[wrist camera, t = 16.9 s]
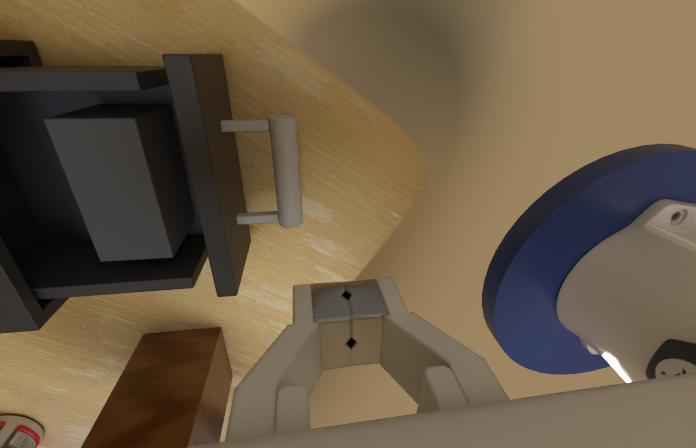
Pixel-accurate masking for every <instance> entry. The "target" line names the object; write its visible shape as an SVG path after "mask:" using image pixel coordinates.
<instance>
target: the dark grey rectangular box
mask: <svg viewBox="0 0 696 448" xmlns="http://www.w3.org/2000/svg"><path fill="white" fill-rule="evenodd" d="M43 120H44V123H45V125H46V128H47V130H48V133H49V135H50V138H51V140H52V143H53V145H54V148H55V150H56V153H57V155H58V158H59V160H60V163H61V165H62V168H63V170H64V172H65V175H66V177H67V180H68V182H69V185H70V187H71V190H72V192H73V195H74V197H75V200H76V202H77V205H78V207H79V210H80V212H81V215H82V217H83V220H84V222H85V224H86V227H87V229H88V232H89V234H90V237H91V239H92V242H93V244H94V247H95V249H96V252H97V254H98V257H99V259H100V261H101V262H103V261H120V260H138V259H155V258H172V257H174V255H175V253H176V252H177V250H178V249H179V247H180V245H181V244H182V242H183V240H184V239H185V237H186V236H187V234H188V232H189V231H190V229H191V227H192V226H193V224H194V223H195V221H196V217H195V212H194V208H193V203H192V199H191V195H190V190H189V186H188V181H187V177H186V172H185V168H184V163H183V159H182V154H181V150H180V146H179V141H178V137H177V132H176V128H175V123H174V119H173V114H172V110H171V105H170V104H99V105H95V106H91V107H87V108H83V109H79V110H75V111H71V112H67V113H64V114H60V115H56V116H52V117H48V118H44V119H43Z"/></svg>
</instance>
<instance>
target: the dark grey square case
mask: <svg viewBox="0 0 696 448" xmlns="http://www.w3.org/2000/svg"><path fill="white" fill-rule="evenodd" d="M0 66H43V65H42V63H41V60H40V58H39V55H38V52H37V50H36V47H35V45H34V42H33V41H22V40H2V39H0ZM68 298H69V297H66V298H53V299H40V300H36V298H35V296H34V294H33V293H32V291H31V289H30V287H29V286H28V284H27V282H26V280H25V278H24V277H23V275H22V273H21V271H20V270H19V268H18V266H17V264H16V263H15V261H14V259H13V257H12V255H11V254H10V252H9V250H8V248H7V247H6V245H5V243H4V241H3V239H2V238H1V236H0V333H11V332H23V331H34V330H40V328H41V327H42V326H43V325H44V324H45V323H46V322H47V321H48V319H50V318H51V316H52V315H53V314H54V313H55V312H56V311H57V310H58V309H59V308H60V307H61V306H62V305H63V304H64V303H65V302H66V300H67V299H68Z"/></svg>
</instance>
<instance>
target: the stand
mask: <svg viewBox="0 0 696 448" xmlns="http://www.w3.org/2000/svg"><path fill="white" fill-rule="evenodd" d="M231 381H232V372H231V367H230V363H229V359H228V355H227V351H226V346H225V342H224V338H223V334H222V329H221V328H210V329H199V330H188V331H177V332H166V333H155V334H144V335H143V336H142V338H141V340H140V342H139V344H138V345H137V347H136V349H135V351H134V353H133V354H132V356H131V358H130V360H129V362H128V363H127V365H126V367H125V369H124V371H123V373H122V374H121V376H120V378H119V380H118V382H117V383H116V385H115V387H114V389H113V391H112V392H111V394H110V396H109V398H108V400H107V402H106V403H105V405H104V407H103V409H102V411H101V412H100V414H99V416H98V418H97V420H96V421H95V423H94V425H93V427H92V429H91V431H90V432H89V434H88V436H87V438H86V440H85V441H84V443H83V445H82V447H81V448H186V447H193V446H200V445H207V444H214V443H219V440H220V435H221V430H222V425H223V420H224V415H225V411H226V406H227V401H228V396H229V391H230V386H231Z"/></svg>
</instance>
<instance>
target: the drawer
mask: <svg viewBox="0 0 696 448" xmlns="http://www.w3.org/2000/svg"><path fill="white" fill-rule="evenodd" d="M162 57H163V61H164V65H165V66H0V236H1V238H2V239H3V241H4V243H5V245H6V247H7V248H8V250H9V252H10V254H11V255H12V257H13V259H14V261H15V263H16V264H17V266H18V268H19V270H20V271H21V273H22V275H23V277H24V278H25V280H26V282H27V284H28V286H29V287H30V289H31V291H32V293H33V294H34V296H35V298H36V300H40V299H53V298H66V297H80V296H93V295H106V294H119V293H132V292H146V291H159V290H172V289H185V288H193V287H194V286H195V283H196V281H197V279H198V277H199V274H200V272H201V270H202V268H203V265H204V263H205V261H206V259H207V257H209V262H210V266H211V270H212V275H213V279H214V283H215V288H216V292H217V296H218V297H225V296H236V295H237V293H238V289H239V285H240V281H241V278H242V274H243V270H244V266H245V262H246V258H247V254H248V250H249V246H250V242H251V238H250V231H249V225H248V224H257V223H276V222H279V224H280V225H281V226H282V227H286V228H294V227H298V226H300V225H301V224H302V223H303V214H302V198H301V183H300V167H299V152H298V136H297V120H296V116H295V115H291V114H277V115H271V116H269V117H268V118H269V120H268V119H258V120H232V113H231V107H230V100H229V94H228V87H227V81H226V74H225V68H224V61H223V55H222V54H163V55H162ZM99 104H170V105H171V110H172V114H173V119H174V123H175V128H176V132H177V137H178V141H179V146H180V150H181V154H182V159H183V163H184V168H185V172H186V177H187V181H188V186H189V190H190V195H191V199H192V203H193V208H194V212H195V217H196V221H195V223H194V224H193V226H192V227H191V229H190V231H189V232H188V234H187V236H186V237H185V239H184V240H183V242H182V244H181V245H180V247H179V249H178V250H177V252H176V253H175V255H174V257H172V258H155V259H138V260H120V261H103V262H101V261H100V259H99V257H98V254H97V252H96V249H95V247H94V244H93V242H92V239H91V237H90V234H89V232H88V229H87V227H86V224H85V222H84V220H83V217H82V215H81V212H80V210H79V207H78V205H77V202H76V200H75V197H74V195H73V192H72V190H71V187H70V185H69V182H68V180H67V177H66V175H65V172H64V170H63V168H62V165H61V163H60V160H59V158H58V155H57V153H56V150H55V148H54V145H53V143H52V140H51V138H50V135H49V133H48V130H47V128H46V125H45V123H44V120H43V119H44V118H48V117H52V116H56V115H60V114H64V113H67V112H71V111H75V110H79V109H83V108H87V107H91V106H95V105H99ZM269 130H270V138H271V147H272V157H273V167H274V177H275V186H276V196H277V206H278V211H272V212H252V213H247V212H246V205H245V199H244V192H243V185H242V179H241V172H240V166H239V159H238V153H237V146H236V140H235V133H234V132H259V131H269Z"/></svg>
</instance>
